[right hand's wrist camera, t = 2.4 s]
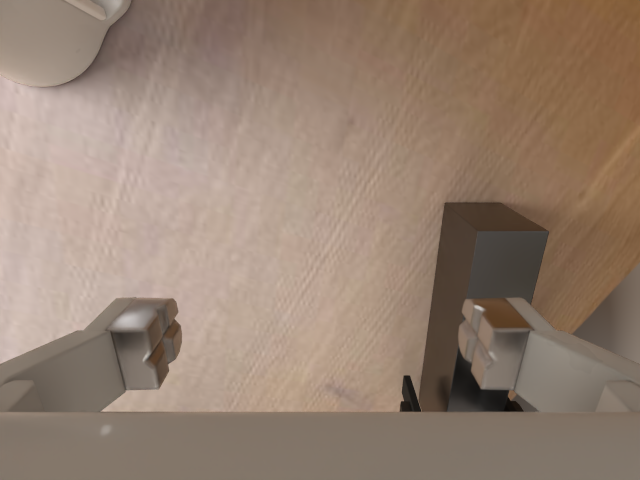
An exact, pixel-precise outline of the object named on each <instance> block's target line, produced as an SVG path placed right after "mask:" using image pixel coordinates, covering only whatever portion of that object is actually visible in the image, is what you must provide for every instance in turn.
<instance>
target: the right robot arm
mask: <svg viewBox="0 0 640 480" xmlns="http://www.w3.org/2000/svg"><path fill="white" fill-rule="evenodd" d="M130 4H131V0H0V76H2V77H4V78H6V79H9V80H11V81H14V82H17V83H20V84H24V85H28V86H35V87H50V86H56V85H61V84H64V83H66V82H69V81H71V80H73V79H75V78H76V77H78V76H79V75H80V74H82V73H83V72H84V71H85V70H86V69H87V68H88V67H89V66H90V65H91V63H92V62H93V61H94V59H95V57H96V56H97V54H98V52H99V50H100V47H101V45H102V42H103V40H104V37H105V35H106V33H107V31H108V29H109V27H110V26H111V25H112V24H114V23H115V22H116V21H117V20H118V19H119V18H121V17H122V16H123V15H124V14H125V12H126V11H127V10H128V8H129V7H130ZM177 313H178V308H177V303H176V301H175V300H174V299H173V298H136V297H134V298H117V299H115V300H114V301H113V302H112V303H111V304H110V305H109V306H108V307H107V308H106V309H105V310H104V311H103V312H102V313H101V314H100V315H99V316H98V317H97V318H96V319H95V320H94V321H93V322H92V323H91V324H90V325H89V326H88V327H87V328H86V329H84V330H83V331H75V332H73V333H71V334H68V335H66V336H64V337H62V338H59V339H57V340H55V341H52V342H50V343H48V344H45V345H43V346H41V347H38V348H36V349H34V350H32V351H29V352H27V353H25V354H22V355H20V356H18V357H15V358H13V359H11V360H8V361H6V362H4V363H2V364H0V480H640V364H638V363H636V362H634V361H631V360H629V359H627V358H624V357H622V356H620V355H617V354H615V353H613V352H611V351H608V350H606V349H604V348H601V347H599V346H597V345H594V344H592V343H590V342H588V341H585V340H583V339H581V338H578V337H576V336H574V335H572V334H569V333H567V332H565V331H557V330H556V329H555V328H554V327H552V326H551V325H550V324H549V323H548V322H547V321H546V320H545V319H544V318H543V317H542V316H541V315H540V314H539V313H538V312H537V311H536V310H535V309H534V308H533V307H532V306H531V305H530V304H529V303H528V302H527V301H526V300H525V299H523V298H520V297H516V298H480V299H465V301H464V303H463V307H462V313H463V315H464V317H465V318H466V319H465V320H464V321H463V322H462V323H461V324H460V325H459V332H458V342H459V348H460V351H461V354H462V356H463V357H464V359H465V360H466V361H468V362H469V363H471V364H472V367H471V372H472V374H473V376H474V377H475V379H476V381H477V383H478V385H479V386H480V388H481V389H488V390H515V391H514V392H515V393H517V394H518V395H519V396H521V397H522V398H523V399H525V400H526V401H527V402H528V403H530V404H531V405H532V406H533V407H535V408H536V409H537V410H539V411H540V412H100V411H102V410H103V409H104V408H105V407H107V406H108V405H109V404H111V403H112V402H113V401H114V400H116V399H117V398H118V397H120V396H121V395H122V394H123V393H125V392H126V391H125V390H151V389H159V388H160V386H161V385H162V383H163V381H164V379H165V377H166V376H167V374H168V372H169V367H168V364H169V363H171V362H172V361H174V360H175V359H176V357H177V356H178V354H179V352H180V347H181V343H182V331H181V326H180V324H179V323H178V322H177V321H176V320H175V319H174V318H175V317H176V315H177Z"/></svg>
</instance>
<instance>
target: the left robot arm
mask: <svg viewBox="0 0 640 480" xmlns="http://www.w3.org/2000/svg"><path fill="white" fill-rule="evenodd" d="M402 395H403V398H404V401H401V404H400V412H421V409H420V406H419V403H418V399H417V396H416V393H415V390H414V387H413V384H412V381H411V378H410V376H404V378H403V387H402ZM504 412H524V411H523V410H522V408H521V406H520V405H519V404H518V403H517V402H516V401H510V399H509V398H508V397H507V401H506V405H505V409H504Z"/></svg>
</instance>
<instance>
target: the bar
mask: <svg viewBox="0 0 640 480" xmlns="http://www.w3.org/2000/svg"><path fill="white" fill-rule="evenodd" d="M548 234H549V231H548V230H546V229H544V228H543V227H541V226H539V225H537V224H536V223H534V222H532V221H531V220H529V219H527V218H526V217H524V216H522V215H520V214H519V213H517V212H515V211H514V210H512V209H510V208H509V207H507V206H505V205H504V204H502V203H445V205H444V213H443V220H442V228H441V235H440V243H439V250H438V258H437V265H436V273H435V280H434V288H433V295H432V303H431V310H430V318H429V326H428V333H427V341H426V348H425V356H424V363H423V371H422V378H421V386H420V393H419V403H420V407H421V410H422V412H504V409H505V405H506V401H507V397H508V393H509V390H488V389H481V388H480V386H479V385H478V383H477V381H476V379H475V377H474V376H473V374H472V372H471V367H472V364H471V363H469V362H468V361H466V360H465V359H464V357H463V356H462V354H461V351H460V348H459V342H458V332H459V325H460V324H461V323H462V322H463V321H464V320H465V319H466V318H465V317H464V315H463V313H462V307H463V303H464V301H465V299H480V298H516V297H520V298H523V299H525V300H526V301H527V302H528V303H529V304H530V305H531V302H532V298H533V294H534V290H535V286H536V282H537V278H538V274H539V270H540V266H541V262H542V258H543V254H544V250H545V246H546V242H547V238H548Z"/></svg>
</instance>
